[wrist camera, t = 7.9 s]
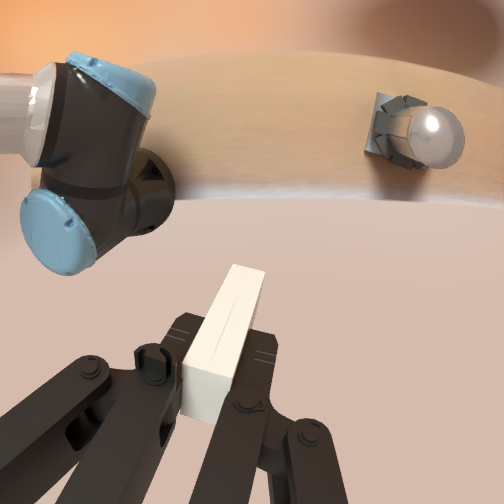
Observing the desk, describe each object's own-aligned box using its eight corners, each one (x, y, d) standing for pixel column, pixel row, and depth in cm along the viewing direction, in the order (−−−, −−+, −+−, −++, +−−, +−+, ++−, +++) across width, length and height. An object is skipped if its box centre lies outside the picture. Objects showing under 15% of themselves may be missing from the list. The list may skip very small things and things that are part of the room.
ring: (366, 154, 40) (368, 156, 39) (380, 88, 36) (384, 87, 34) (427, 174, 40) (432, 177, 38) (443, 111, 35) (448, 111, 34)
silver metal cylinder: (382, 148, 38) (403, 157, 29) (392, 101, 35) (417, 97, 26) (425, 163, 37) (456, 177, 28) (436, 118, 34) (470, 120, 25)
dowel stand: (364, 149, 42) (381, 159, 32) (377, 92, 38) (397, 85, 28) (423, 169, 41) (454, 185, 31) (437, 114, 38) (471, 115, 27)
